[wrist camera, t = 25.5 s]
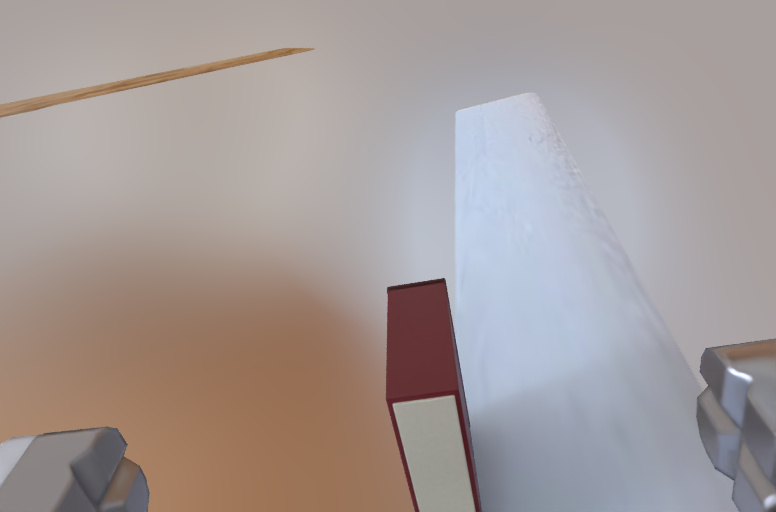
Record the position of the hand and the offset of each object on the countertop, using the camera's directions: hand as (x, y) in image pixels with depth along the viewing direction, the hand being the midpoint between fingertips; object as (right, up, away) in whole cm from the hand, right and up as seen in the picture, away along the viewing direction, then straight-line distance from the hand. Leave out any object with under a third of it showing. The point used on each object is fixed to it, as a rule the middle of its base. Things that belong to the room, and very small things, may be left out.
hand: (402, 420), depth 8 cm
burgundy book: (+4, -14, +36) cm, 39 cm away
